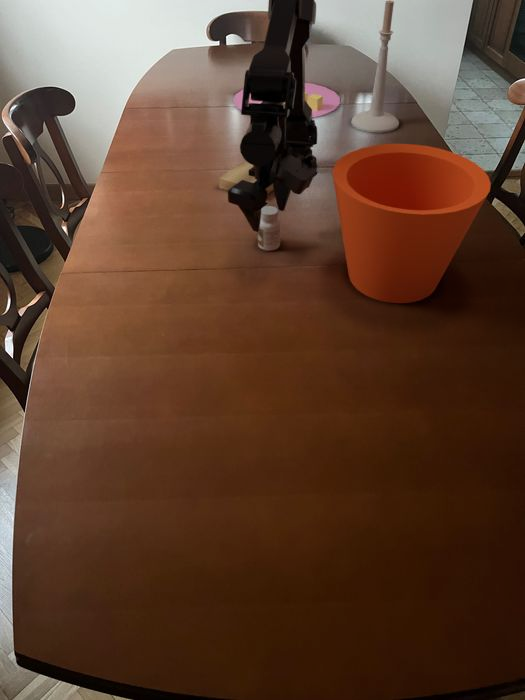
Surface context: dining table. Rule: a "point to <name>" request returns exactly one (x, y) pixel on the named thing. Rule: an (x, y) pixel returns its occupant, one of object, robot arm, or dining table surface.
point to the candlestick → (379, 87)
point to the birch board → (238, 176)
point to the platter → (307, 99)
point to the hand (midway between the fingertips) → (269, 220)
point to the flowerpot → (404, 216)
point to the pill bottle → (269, 229)
